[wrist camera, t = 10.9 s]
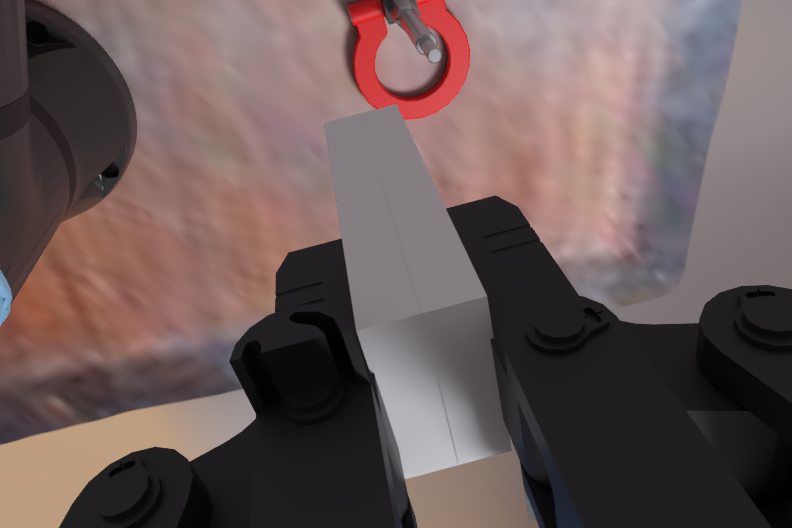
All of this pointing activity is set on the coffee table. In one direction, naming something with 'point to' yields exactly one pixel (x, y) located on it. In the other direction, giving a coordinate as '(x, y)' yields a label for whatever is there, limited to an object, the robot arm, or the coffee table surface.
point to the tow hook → (412, 10)
